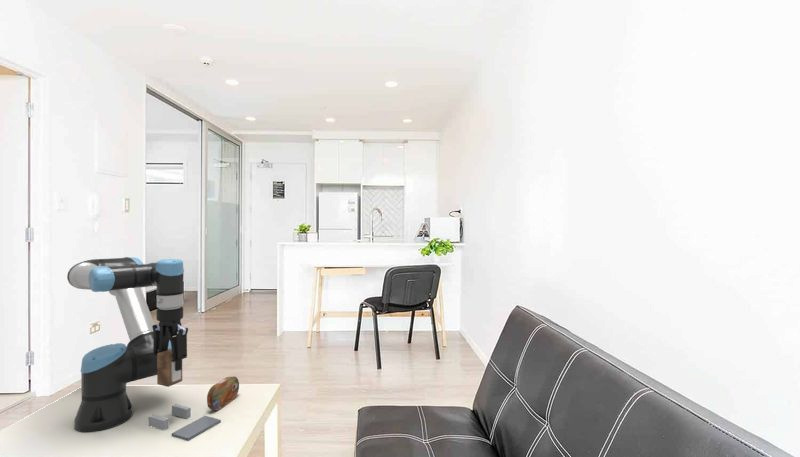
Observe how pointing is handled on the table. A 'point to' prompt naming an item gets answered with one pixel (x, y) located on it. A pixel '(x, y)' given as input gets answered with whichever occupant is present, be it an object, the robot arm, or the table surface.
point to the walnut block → (165, 368)
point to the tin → (222, 393)
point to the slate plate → (196, 428)
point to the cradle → (163, 422)
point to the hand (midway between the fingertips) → (169, 378)
